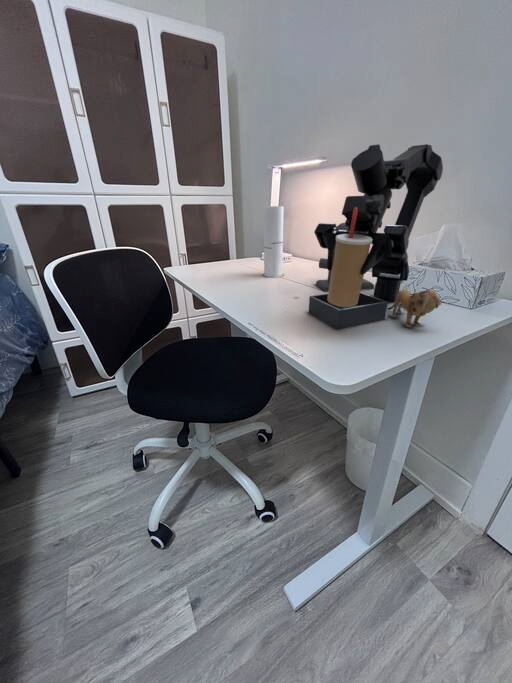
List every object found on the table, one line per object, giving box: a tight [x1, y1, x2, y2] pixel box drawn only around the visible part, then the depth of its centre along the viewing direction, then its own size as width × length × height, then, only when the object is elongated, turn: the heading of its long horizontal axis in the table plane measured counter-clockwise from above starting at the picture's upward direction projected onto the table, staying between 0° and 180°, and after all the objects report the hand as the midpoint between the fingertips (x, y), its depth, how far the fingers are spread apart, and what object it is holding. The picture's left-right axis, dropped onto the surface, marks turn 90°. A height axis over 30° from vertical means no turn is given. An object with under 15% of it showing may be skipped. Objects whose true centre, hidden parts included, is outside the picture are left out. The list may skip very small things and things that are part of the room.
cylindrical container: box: [263, 205, 285, 278], centre depth 111 cm, size 7×7×25 cm
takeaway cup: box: [327, 207, 373, 307], centre depth 59 cm, size 7×7×19 cm
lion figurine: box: [386, 289, 443, 328], centre depth 68 cm, size 15×5×9 cm, turn 13°
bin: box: [308, 291, 389, 330], centre depth 73 cm, size 14×12×4 cm
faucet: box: [315, 222, 375, 292], centre depth 98 cm, size 18×16×20 cm
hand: (344, 271), depth 60 cm, fingers closed on takeaway cup, 7 cm apart
